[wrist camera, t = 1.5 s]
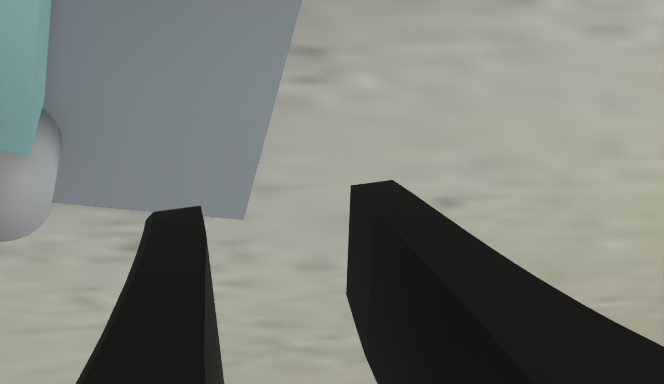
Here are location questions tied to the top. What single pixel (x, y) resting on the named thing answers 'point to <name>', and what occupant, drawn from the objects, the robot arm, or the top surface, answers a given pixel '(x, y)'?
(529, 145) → the top surface
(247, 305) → the top surface
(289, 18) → the post board
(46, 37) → the lock lever
